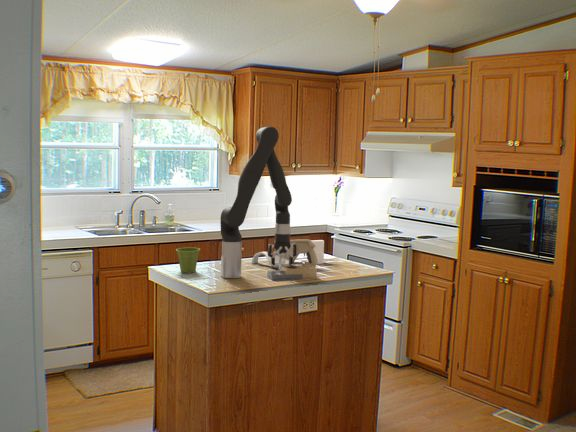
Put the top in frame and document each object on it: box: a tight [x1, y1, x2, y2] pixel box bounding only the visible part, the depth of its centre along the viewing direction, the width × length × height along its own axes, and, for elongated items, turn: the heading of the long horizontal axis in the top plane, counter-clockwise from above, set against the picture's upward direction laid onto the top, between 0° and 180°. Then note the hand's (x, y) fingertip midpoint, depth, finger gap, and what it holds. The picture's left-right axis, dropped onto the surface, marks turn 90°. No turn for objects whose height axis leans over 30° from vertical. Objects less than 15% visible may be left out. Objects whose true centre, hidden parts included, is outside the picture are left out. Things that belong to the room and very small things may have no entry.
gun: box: [273, 239, 318, 268], centre depth 315 cm, size 24×3×15 cm, turn 59°
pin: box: [278, 253, 286, 271], centre depth 296 cm, size 4×4×10 cm
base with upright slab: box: [306, 239, 325, 265], centre depth 327 cm, size 9×9×12 cm
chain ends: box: [266, 264, 318, 281], centre depth 286 cm, size 22×9×5 cm, turn 106°
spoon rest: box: [251, 251, 290, 270], centre depth 313 cm, size 24×12×7 cm, turn 55°
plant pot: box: [175, 247, 201, 274], centre depth 294 cm, size 12×12×11 cm
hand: (281, 264), depth 296 cm, fingers open, 8 cm apart
